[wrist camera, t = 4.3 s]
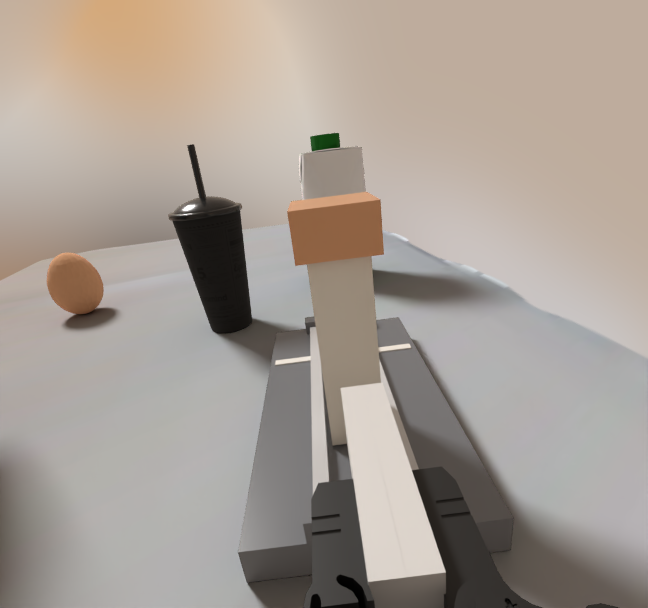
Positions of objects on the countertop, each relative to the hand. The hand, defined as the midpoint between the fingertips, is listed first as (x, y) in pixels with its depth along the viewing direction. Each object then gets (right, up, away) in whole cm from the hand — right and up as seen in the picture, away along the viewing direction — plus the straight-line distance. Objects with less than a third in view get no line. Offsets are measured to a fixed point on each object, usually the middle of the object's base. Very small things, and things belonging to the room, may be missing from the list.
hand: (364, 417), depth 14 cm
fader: (0, -3, +9) cm, 10 cm away
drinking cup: (-12, +1, +32) cm, 34 cm away
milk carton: (+1, +8, +44) cm, 45 cm away
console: (+1, -4, +14) cm, 14 cm away
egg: (-37, +3, +43) cm, 56 cm away
